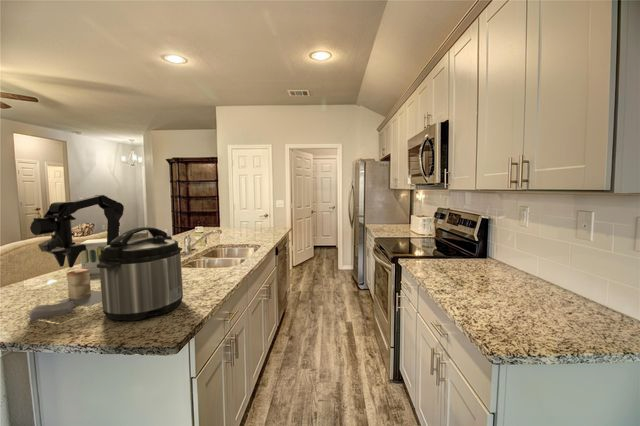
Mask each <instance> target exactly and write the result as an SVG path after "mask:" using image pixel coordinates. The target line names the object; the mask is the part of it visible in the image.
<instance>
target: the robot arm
mask: <svg viewBox="0 0 640 426" xmlns="http://www.w3.org/2000/svg"><path fill="white" fill-rule="evenodd" d="M97 205H98V207H99V208H100V209H102V210H103V215H104V216H105V218H106V219H107V227H106V228H107V229H106V230H107V235H106V236H107V237H106V239H107V245H110V242H111V241H112V240H114V239H115V238H116V237H118V236H119V235H120V219H121V218H122V217H123V215H124V211H125V208H124V205H123V204H122V203H121V202H118V201H117V200H115V199H112V198H110V197H108V196H106V195H105V194H96V195H93V196H89V197H84V198H81V199H77V200H73V201H72V200H71V201H56V202H52V203H50V205H49V208H48V210H47V211H46V213H45V214H44V216H43V217H35V218H33V221H32V222H31V223H30V224H31V225H30V227H29V228H30V232H31V233H32V234H33V235H34V236H39V235H40V236H41V235H47V234H51V236H50V237H51V238H49V239H46V240H45V241H42V242H40V243H39V244H37V246H38V248H39V249H40V251H41V252H43V253H49V254H51V255H53V257H54V258H55V260H56V261H57V264H58V266H59V267H64V265H65V260H66V259H67V263H68V267H69V268H70V269H71V268H74V265H75V263H76V261H77V259H78V258H79V255H81V253H80V252H82V251H85V250H87V249H86V245H84V244H80V243H76V241H75V242H74V241H73V236H75V232H72V231H73V230H72V221H75V220H77V218H76V217H74V216H72V214H74V213H77V212H78V211H79V210H82V209H85V208H90V207H92V206H97Z"/></svg>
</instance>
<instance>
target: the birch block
mask: <svg viewBox="0 0 640 426" xmlns="http://www.w3.org/2000/svg"><path fill="white" fill-rule="evenodd" d="M90 275H91V274H89V270H88V269H82V268H80V269H76V270H72V271H67V272H66V277H67V278H66V280H67V289H68V298H71V299H79V298H82V297H85V296H88V295H91V290H92V287H91V280H90V279H91V278H90V277H91V276H90Z"/></svg>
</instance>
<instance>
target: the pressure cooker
mask: <svg viewBox="0 0 640 426" xmlns="http://www.w3.org/2000/svg"><path fill="white" fill-rule="evenodd" d="M143 231H147V232H149V234H150V235H151V236H152V237H142V238H135V239H131V238H132V237H133V236H134V235H135V234H138V233H141V232H143ZM182 251H183V247H180V246H179V241H178V240H176V239H173V237H172V236H171V235H168V233H167V232H166V231H163V230H161V229H159V228H155V227H150V226H148V227H147V226H145V227H144V226H143V227H137V228H133V229H132V228H131V229H130V230H127V231H125V232H123V233H122V234H119V236H118V237H116V238H115V239H114V240H112V241H111V242H110V245H107V246H104V247H102V248H101V254H100V255H99V263H98V264H97V268H100V273H99V280H100V290H101V293H102V312H103V314H104V315H105V316H106V318H108V319H109V320H113V321H138V320H143V319H146V318H147V317H152V316H159V315H164V314H167V313H168V312H171V311H172V310H174V309H176V308H177V307H178V306H179V305H180V304H181V303H182V301H183V298H184V291H183V289H184V287H183V271H182V269H183V268H182Z"/></svg>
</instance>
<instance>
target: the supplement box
mask: <svg viewBox="0 0 640 426" xmlns="http://www.w3.org/2000/svg"><path fill="white" fill-rule="evenodd" d="M79 244H84V245H86V249H87V250H85V251H82V252H80V263H81V269H88V270H89V275H97V274H99V275H100V268H97V264H98V263H99V255H100V254H101V248H102V247H104V246H107V238H96V239H87V240H85V241H82V242H81V243H79Z"/></svg>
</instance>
